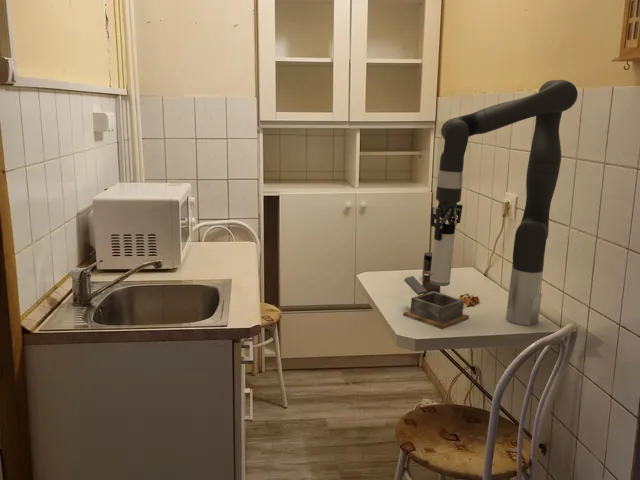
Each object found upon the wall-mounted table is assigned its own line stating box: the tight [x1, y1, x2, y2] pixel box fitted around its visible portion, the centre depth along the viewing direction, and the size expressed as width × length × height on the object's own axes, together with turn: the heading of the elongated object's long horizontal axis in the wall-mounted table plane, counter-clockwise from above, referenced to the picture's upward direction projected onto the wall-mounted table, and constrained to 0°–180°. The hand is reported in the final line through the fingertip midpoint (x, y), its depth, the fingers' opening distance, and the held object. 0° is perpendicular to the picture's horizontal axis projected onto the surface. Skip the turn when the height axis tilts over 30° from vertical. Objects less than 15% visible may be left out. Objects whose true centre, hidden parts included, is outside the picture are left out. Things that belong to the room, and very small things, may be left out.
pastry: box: [457, 292, 481, 310], centre depth 205 cm, size 7×12×4 cm, turn 147°
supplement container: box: [421, 251, 433, 280], centre depth 230 cm, size 7×7×10 cm
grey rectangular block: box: [403, 275, 427, 296], centre depth 196 cm, size 7×4×1 cm
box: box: [421, 270, 441, 294], centre depth 215 cm, size 6×6×7 cm
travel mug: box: [430, 222, 456, 287], centre depth 187 cm, size 6×7×20 cm
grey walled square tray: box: [402, 291, 470, 330], centre depth 191 cm, size 15×15×6 cm
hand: (444, 238), depth 185 cm, fingers closed on travel mug, 6 cm apart
